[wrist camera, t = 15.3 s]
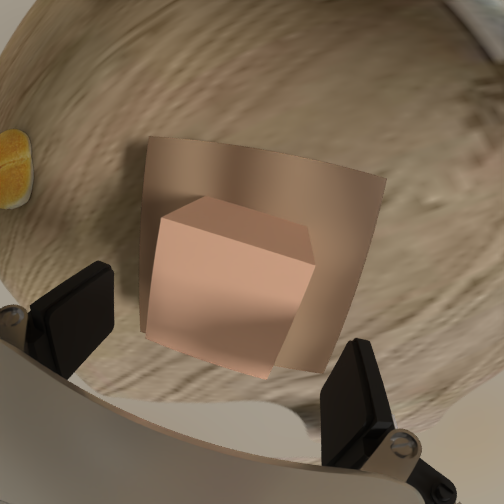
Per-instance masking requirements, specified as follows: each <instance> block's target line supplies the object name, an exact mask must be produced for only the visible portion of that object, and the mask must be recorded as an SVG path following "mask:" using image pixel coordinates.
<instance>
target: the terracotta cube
mask: <svg viewBox="0 0 504 504" xmlns="http://www.w3.org/2000/svg"><path fill="white" fill-rule="evenodd" d="M315 266H316V264H315V259H314V255H313V250H312V246H311V241H310V237H309V232H308V228H307V226H303V225H300V224H297V223H294V222H291V221H288V220H285V219H282V218H279V217H275V216H272V215H269V214H266V213H262V212H259V211H256V210H253V209H249V208H246V207H243V206H239V205H236V204H233V203H229V202H226V201H222V200H219V199H216V198H212V197H209V196H204V197H202V198H200V199H198V200H196V201H194V202H192V203H189V204H187V205H185V206H183V207H181V208H179V209H177V210H175V211H173V212H171V213H169V214H167V215H165V216H163V217H161V222H160V228H159V234H158V240H157V246H156V252H155V259H154V266H153V273H152V280H151V288H150V297H149V306H148V316H147V326H146V339H148V340H151V341H153V342H155V343H158V344H160V345H163V346H165V347H168V348H171V349H173V350H176V351H179V352H181V353H184V354H187V355H189V356H192V357H195V358H198V359H201V360H204V361H207V362H209V363H212V364H215V365H219V366H222V367H225V368H228V369H231V370H234V371H238V372H241V373H244V374H248V375H251V376H255V377H258V378H262V379H266V380H267V378H268V376H269V374H270V372H271V370H272V367H273V365H274V363H275V361H276V359H277V357H278V354H279V352H280V350H281V348H282V345H283V343H284V341H285V339H286V336H287V334H288V332H289V330H290V327H291V325H292V323H293V320H294V318H295V316H296V313H297V311H298V309H299V306H300V304H301V301H302V299H303V297H304V294H305V292H306V289H307V287H308V284H309V282H310V279H311V277H312V274H313V272H314V269H315Z"/></svg>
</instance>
